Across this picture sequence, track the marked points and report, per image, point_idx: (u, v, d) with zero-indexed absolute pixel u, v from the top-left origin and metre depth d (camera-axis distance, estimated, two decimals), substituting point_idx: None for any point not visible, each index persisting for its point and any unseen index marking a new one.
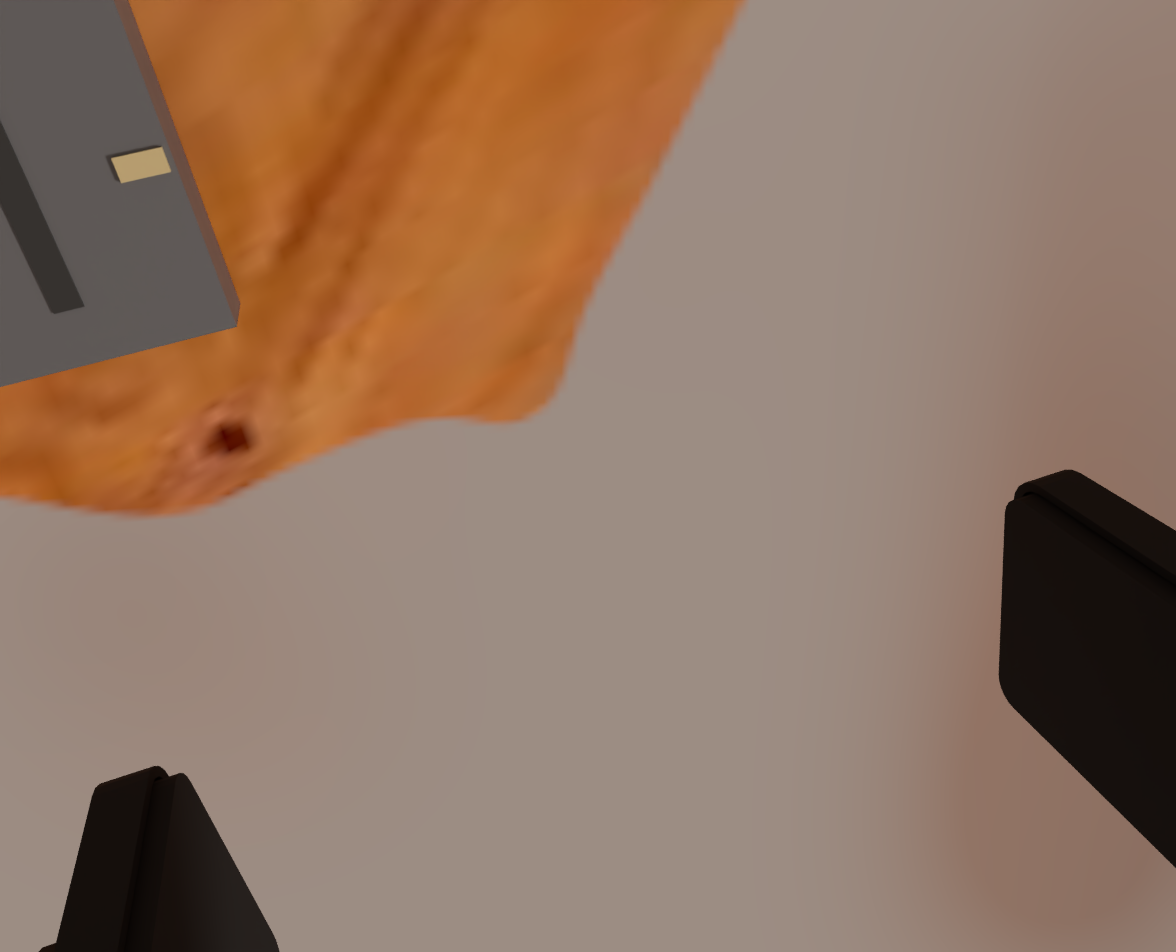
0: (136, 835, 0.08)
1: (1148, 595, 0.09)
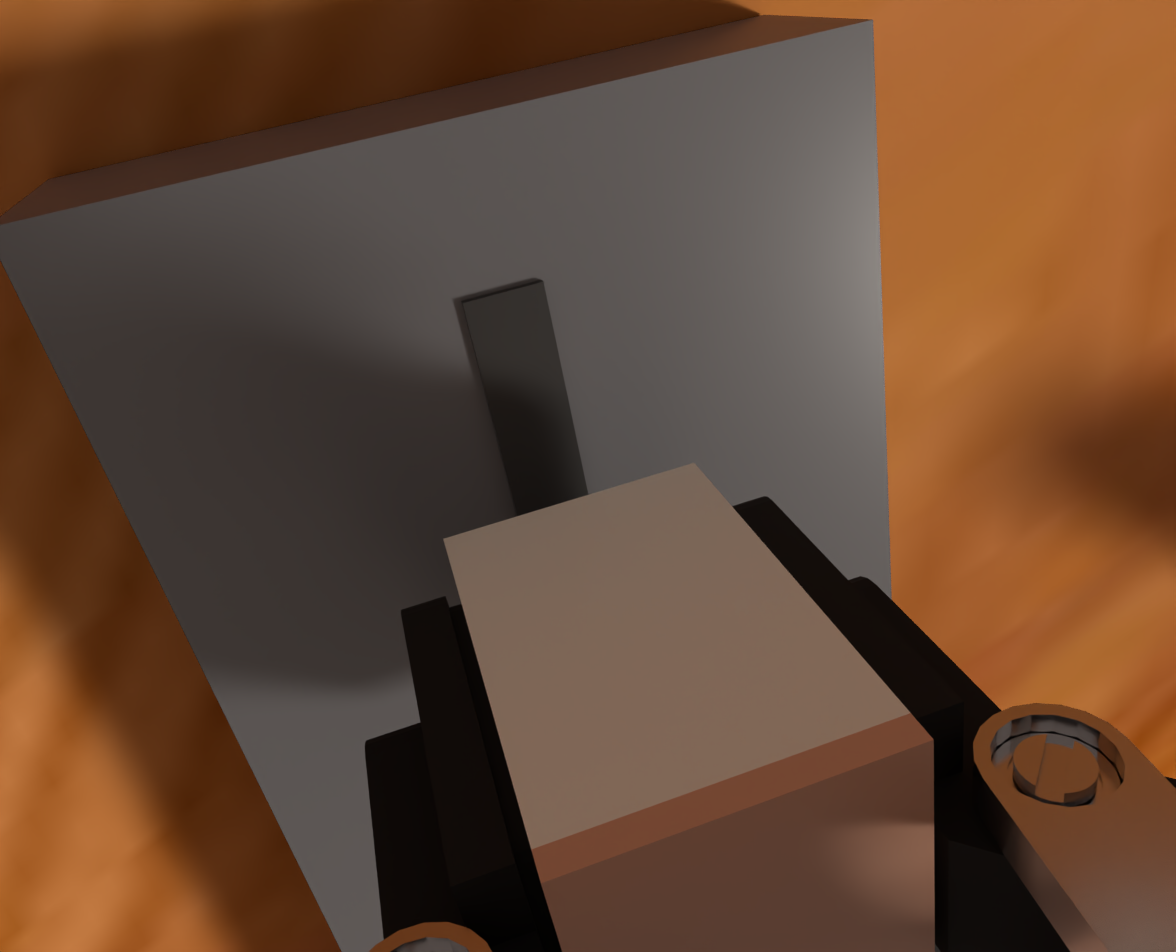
0: (453, 640, 0.10)
1: None
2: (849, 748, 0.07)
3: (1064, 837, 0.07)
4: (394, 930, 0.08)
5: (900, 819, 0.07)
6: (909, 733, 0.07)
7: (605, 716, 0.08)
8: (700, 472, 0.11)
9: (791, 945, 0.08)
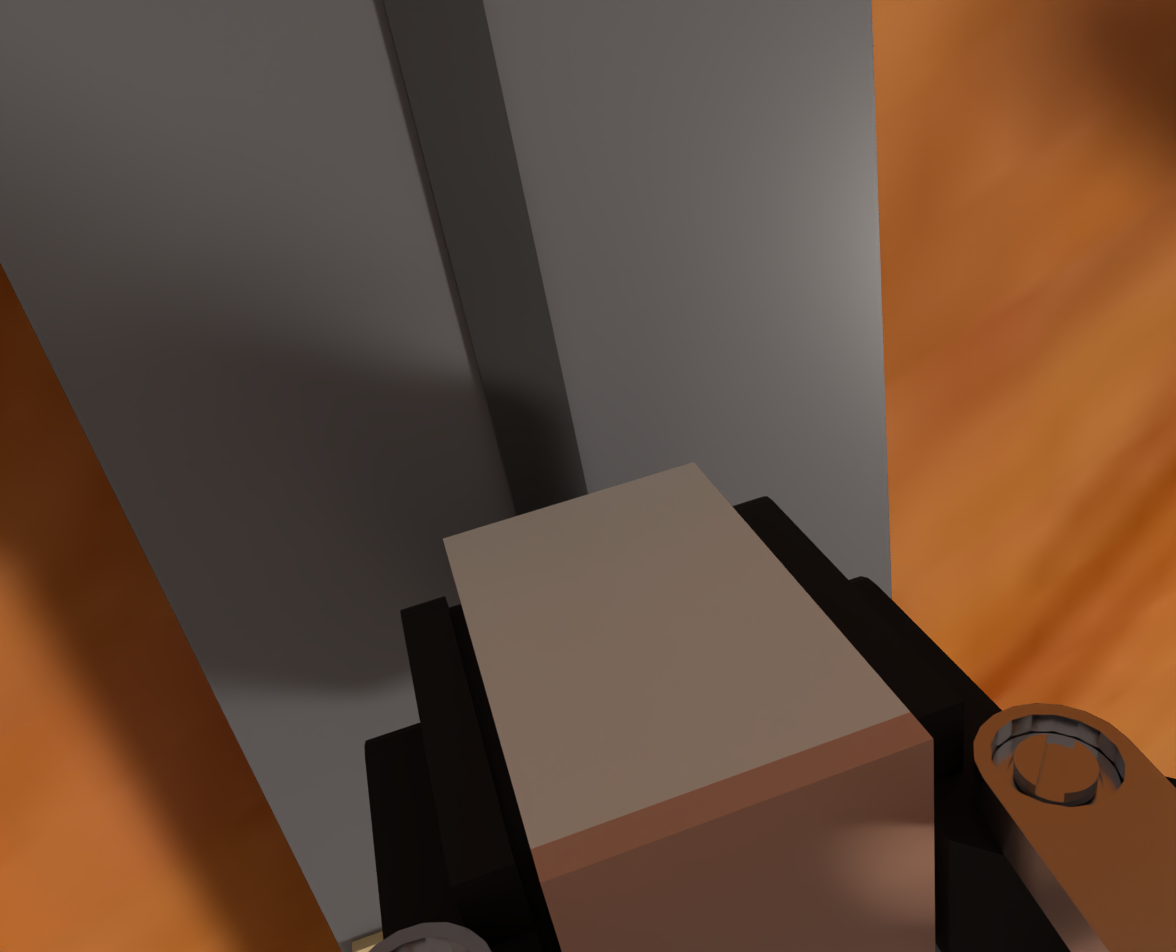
0: (452, 641, 0.10)
1: None
2: (849, 747, 0.07)
3: (1064, 837, 0.07)
4: (394, 931, 0.08)
5: (900, 818, 0.07)
6: (908, 734, 0.07)
7: (603, 715, 0.08)
8: (700, 472, 0.11)
9: (791, 945, 0.08)
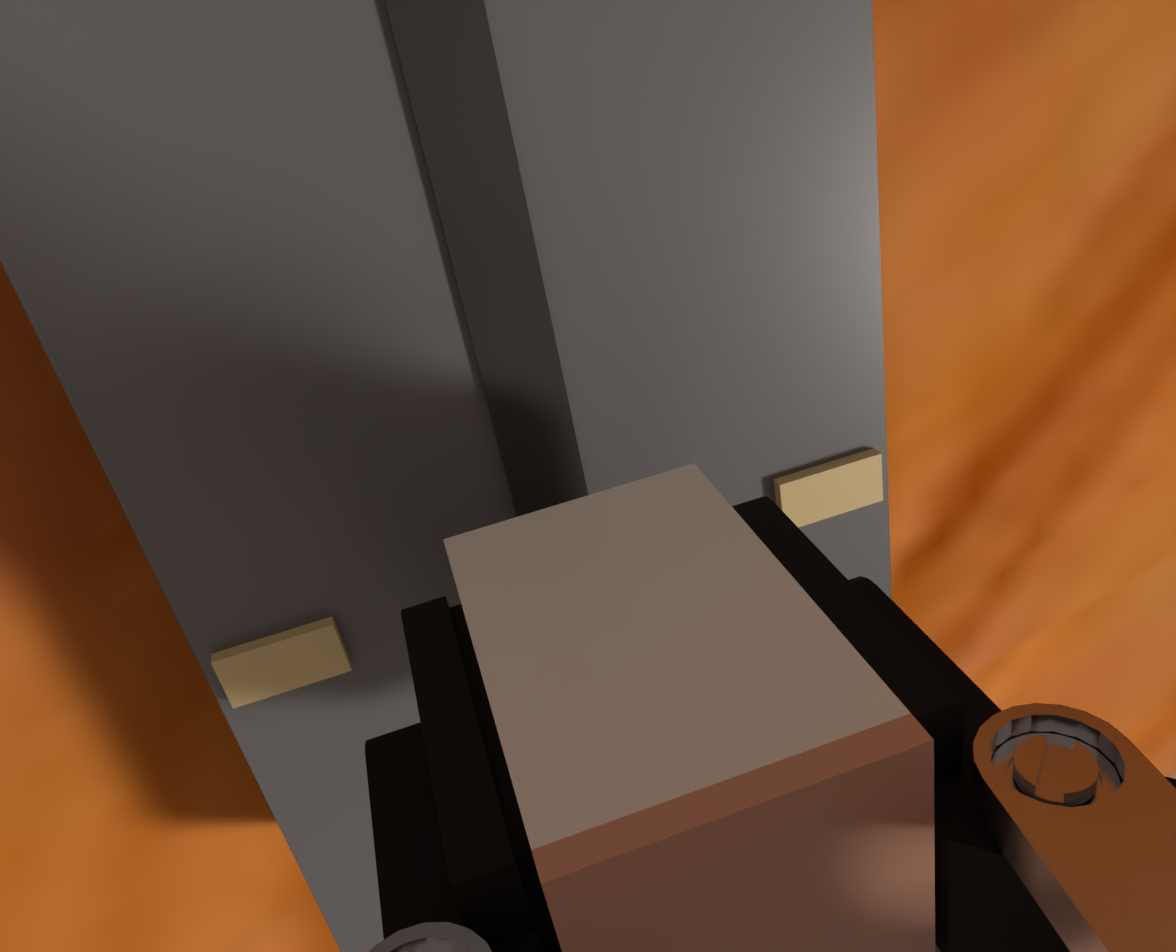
0: (453, 640, 0.10)
1: None
2: (849, 748, 0.07)
3: (1063, 837, 0.07)
4: (394, 930, 0.08)
5: (900, 819, 0.07)
6: (909, 735, 0.07)
7: (605, 716, 0.08)
8: (701, 473, 0.11)
9: (791, 946, 0.08)
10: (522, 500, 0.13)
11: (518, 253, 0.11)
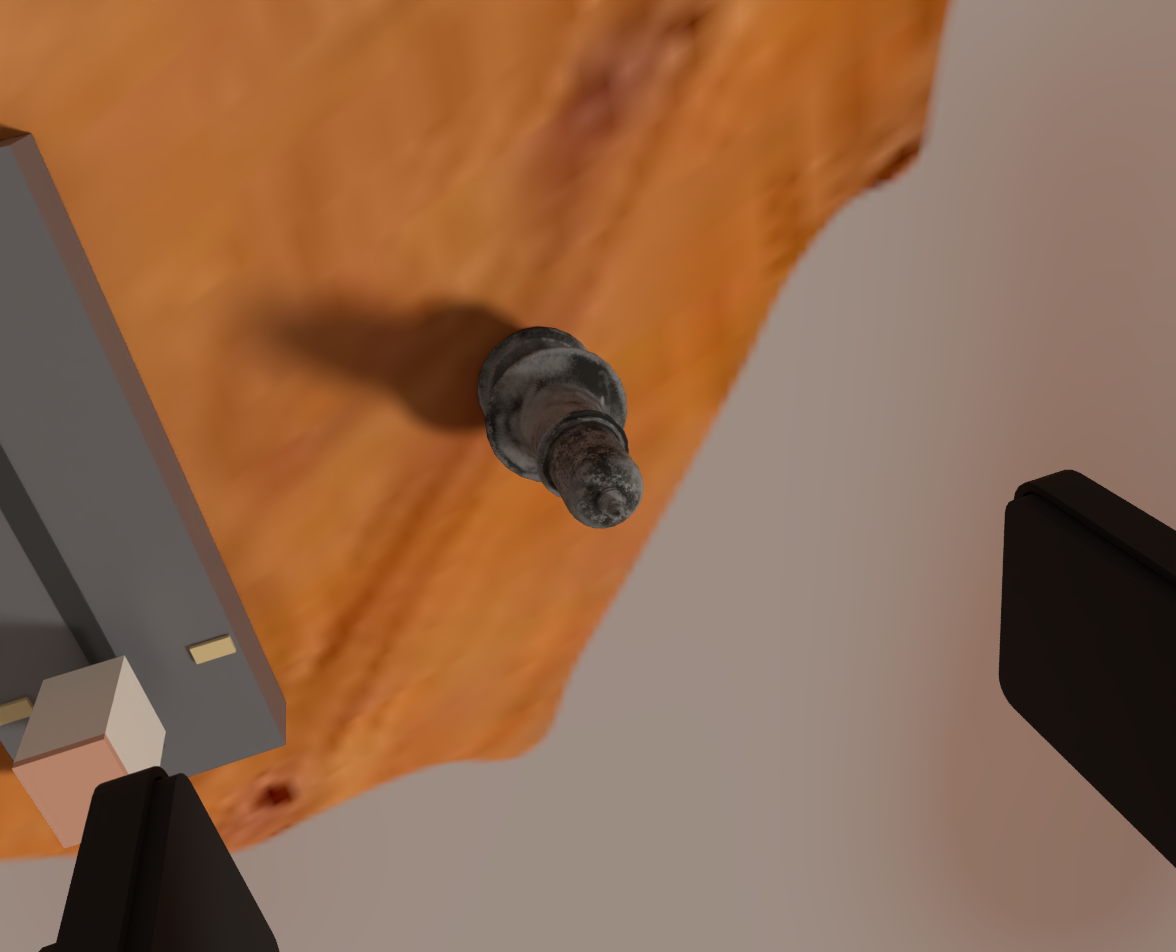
0: (135, 835, 0.08)
1: (1148, 595, 0.09)
2: (87, 741, 0.33)
3: None
4: None
5: (103, 757, 0.33)
6: (100, 738, 0.33)
7: (46, 733, 0.33)
8: (123, 659, 0.36)
9: (86, 786, 0.33)
10: (91, 657, 0.38)
11: (71, 589, 0.37)
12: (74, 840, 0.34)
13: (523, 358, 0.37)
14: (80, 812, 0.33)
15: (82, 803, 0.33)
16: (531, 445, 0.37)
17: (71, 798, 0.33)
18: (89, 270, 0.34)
